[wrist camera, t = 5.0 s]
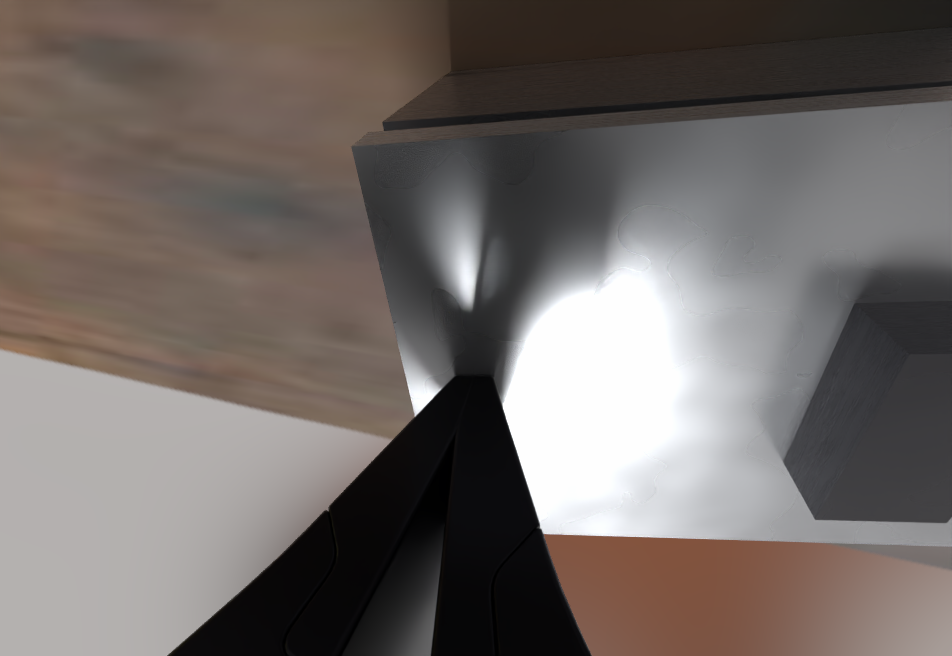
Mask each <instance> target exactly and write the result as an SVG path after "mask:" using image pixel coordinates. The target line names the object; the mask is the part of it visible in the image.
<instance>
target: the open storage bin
mask: <svg viewBox="0 0 952 656" xmlns="http://www.w3.org/2000/svg"><path fill="white" fill-rule="evenodd" d="M942 86H952V27H946V28H934V29H923V30H912V31H901V32H890V33H878V34H867V35H856V36H845V37H833V38H822V39H811V40H800V41H789V42H777V43H766V44H755V45H744V46H732V47H721V48H710V49H699V50H688V51H676V52H665V53H654V54H643V55H631V56H620V57H609V58H598V59H587V60H575V61H564V62H553V63H542V64H530V65H519V66H508V67H497V68H486V69H474V70H463V71H452V72H450V73H448V74H447V75H445V76H444V77H443V78H441V79H440V80H439V81H437V82H436V83H435V84H433V85H432V86H431V87H429V88H428V89H427V90H425V91H424V92H422V93H421V94H420V95H418V96H417V97H416V98H414V99H413V100H412V101H410V102H409V103H408V104H406V105H405V106H404V107H402V108H401V109H399V110H398V111H397V112H395V113H394V114H393V115H391V116H390V117H389V118H387V119H386V120H385V121H383V127H384V131H392V130H404V129H417V128H429V127H442V126H454V125H467V124H479V123H492V122H504V121H517V120H529V119H542V118H554V117H567V116H579V115H592V114H604V113H617V112H629V111H642V110H654V109H667V108H679V107H692V106H704V105H717V104H729V103H742V102H754V101H767V100H779V99H792V98H804V97H817V96H829V95H842V94H854V93H867V92H879V91H892V90H904V89H917V88H929V87H942Z"/></svg>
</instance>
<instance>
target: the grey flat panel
mask: <svg viewBox="0 0 952 656" xmlns="http://www.w3.org/2000/svg"><path fill="white" fill-rule="evenodd" d="M352 151H353V156H354V160H355V164H356V168H357V173H358V177H359V181H360V185H361V189H362V194H363V198H364V202H365V206H366V211H367V215H368V219H369V223H370V227H371V232H372V236H373V240H374V244H375V249H376V253H377V257H378V261H379V265H380V270H381V274H382V278H383V282H384V286H385V291H386V295H387V299H388V303H389V308H390V312H391V316H392V320H393V324H394V329H395V333H396V337H397V341H398V346H399V350H400V354H401V358H402V362H403V367H404V371H405V375H406V379H407V384H408V388H409V392H410V396H411V400H412V405H413V409H414V413H415V416H416V415H417V414H418V413H419V412H420V411H421V410H422V409H423V408H424V407H425V406H426V405H427V404H428V403H429V402H430V401H431V400H432V399H433V397H434V396H435V395H436V394H437V393H438V392H439V391H440V390H441V389H442V388H443V387H444V386H445V385H446V384H447V383H448V382H449V381H450V380H451V379H452V378H453V377H454V376H456V375H473V376H492V377H493V378H494V379H495V382H496V385H497V388H498V392H499V395H500V398H501V401H502V404H503V408H504V411H505V414H506V417H507V420H508V423H509V427H510V430H511V433H512V436H513V439H514V443H515V446H516V449H517V452H518V455H519V459H520V462H521V465H522V468H523V471H524V474H525V478H526V481H527V484H528V487H529V490H530V494H531V497H532V500H533V503H534V506H535V509H536V513H537V516H538V519H539V522H540V528H541V529H542V531H543V534H565V535H597V536H629V537H662V538H665V537H666V538H693V539H726V540H757V541H789V542H790V541H791V542H821V543H853V544H885V545H917V546H949V547H952V86H942V87H929V88H917V89H904V90H892V91H879V92H867V93H854V94H842V95H829V96H817V97H804V98H792V99H779V100H767V101H754V102H742V103H729V104H717V105H704V106H692V107H679V108H667V109H654V110H642V111H629V112H617V113H604V114H592V115H579V116H567V117H554V118H542V119H529V120H517V121H504V122H492V123H479V124H467V125H454V126H442V127H429V128H417V129H404V130H392V131H379V132H368V133H367V134H366V135H364V136H363V137H362V138H361V139H360V140H359V141H357V142H356V143H355V144H354V145H353V146H352Z"/></svg>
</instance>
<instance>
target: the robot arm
mask: <svg viewBox="0 0 952 656" xmlns="http://www.w3.org/2000/svg"><path fill="white" fill-rule="evenodd" d="M328 509H329V511H327V510H326V511H324V512H323V513H322V514H321V515H320V516H319V517H318V518H317V519H316V520H315V521H314V522H313V523H312V524H311V525H310V526H309V527H308V528H307V529H306V531H304V532H303V533H302V534H301V535H300V536H299V537H298V538H297V539H296V540H295V541H294V542H293V543H292V544H291V545H290V546H289V547H288V548H287V549H286V550H285V551H284V552H283V553H282V554H281V555H280V556H279V557H278V558H277V559H276V560H275V561H274V562H272V564H270V565H269V566H268V567H267V568H266V569H265V570H264V571H263V572H261V573H260V574H259V575H258V576H257V577H256V578H255V579H254V580H253V581H252V582H251V583H249V585H247V586H246V587H245V588H244V589H243V590H242V591H240V592H239V593H238V594H237V595H236V596H235V597H234V598H233V599H231V600H230V601H229V602H228V603H227V604H226V605H225V606H223V607H222V608H221V609H220V610H219V611H218V612H216V613H215V614H214V615H213V616H212V617H211V618H210V619H208V621H206V622H205V623H204V624H203V625H202V626H200V627H199V628H198V629H197V630H196V631H195V632H194V633H193V634H191V635H190V636H189V637H188V638H187V639H186V640H185V641H183V642H182V643H181V644H180V645H179V646H178V647H177V648H175V649H174V650H173V651H172V652H171V653H170V654H169V655H167V656H592V655H591V653H590V651H589V649H588V646H587V644H586V642H585V640H584V638H583V636H582V634H581V631H580V629H579V627H578V625H577V622H576V620H575V618H574V616H573V613H572V611H571V608H570V606H569V604H568V602H567V599H566V597H565V594H564V592H563V589H562V587H561V584H560V582H559V579H558V576H557V573H556V570H555V567H554V565H553V562H552V559H551V556H550V553H549V550H548V547H547V544H546V541H545V538H544V534H543V531H542V529H541V528H540V522H539V519H538V516H537V513H536V509H535V506H534V503H533V500H532V497H531V494H530V490H529V487H528V484H527V481H526V478H525V474H524V471H523V468H522V465H521V462H520V459H519V455H518V452H517V449H516V446H515V443H514V439H513V436H512V433H511V430H510V427H509V423H508V420H507V417H506V414H505V411H504V408H503V404H502V401H501V398H500V395H499V392H498V388H497V385H496V382H495V379H494V378H493V377H492V376H473V375H456V376H454V377H453V378H452V379H451V380H450V381H449V382H448V383H447V384H446V385H445V386H444V387H443V388H442V389H441V390H440V391H439V392H438V393H437V394H436V395H435V396H434V397H433V399H432V400H431V401H430V402H429V403H428V404H427V405H426V406H425V407H424V408H423V409H422V410H421V411H420V412H419V413H418V414H417V415H416V416H415V417H414V418H413V419H412V420H411V421H410V422H409V423H408V425H407V426H406V427H405V428H404V429H403V430H402V431H401V432H400V433H399V434H398V435H397V436H396V437H395V438H394V439H393V440H392V441H391V442H390V443H389V445H387V447H385V448H384V449H383V451H382V452H381V453H380V454H379V455H378V456H377V457H376V458H375V459H374V460H373V461H372V462H371V463H370V464H369V465H368V466H367V467H366V468H365V469H364V471H362V472H361V473H360V474H359V476H358V477H357V478H356V479H355V480H354V481H353V482H352V483H351V484H350V485H349V486H348V487H347V488H346V489H345V490H344V491H343V492H342V493H341V494H340V495H339V496H338V497H337V498H336V499H335V500H334V502H333V503H332V504H331V505H330V506H329V507H328Z"/></svg>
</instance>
